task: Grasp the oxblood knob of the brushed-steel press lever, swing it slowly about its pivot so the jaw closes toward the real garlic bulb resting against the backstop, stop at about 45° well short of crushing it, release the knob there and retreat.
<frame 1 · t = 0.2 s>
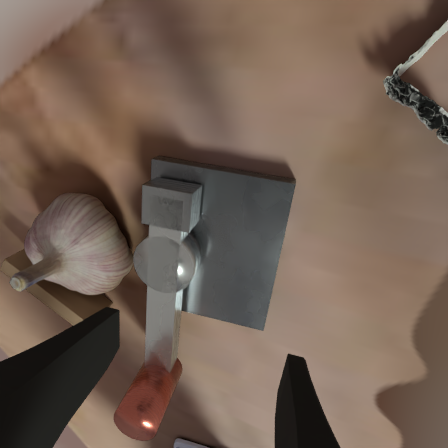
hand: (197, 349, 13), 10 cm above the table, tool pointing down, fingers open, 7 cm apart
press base: (181, 242, 23), on the table
garlic bulb: (101, 233, 25), on the table
lever: (156, 314, 20), point 4 cm above the table, hinge at 0.0°
backstop: (71, 277, 26), on the table
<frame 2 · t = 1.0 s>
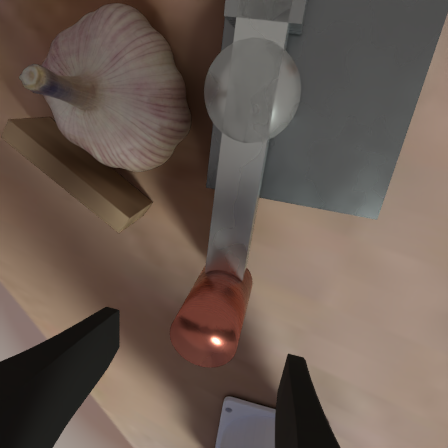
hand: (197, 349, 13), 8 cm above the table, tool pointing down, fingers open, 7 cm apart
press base: (260, 95, 16), on the table
garlic bulb: (142, 96, 18), on the table
lever: (236, 174, 14), point 4 cm above the table, hinge at 0.0°
backstop: (97, 167, 20), on the table
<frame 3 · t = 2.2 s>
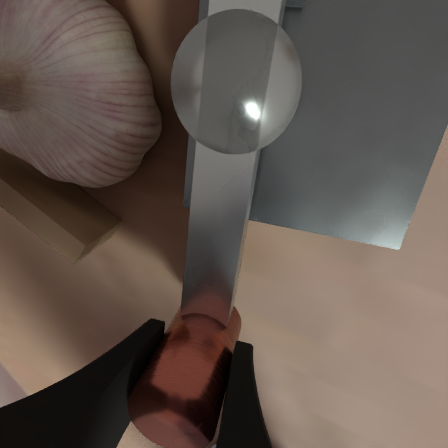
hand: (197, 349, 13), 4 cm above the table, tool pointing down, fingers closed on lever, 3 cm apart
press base: (249, 90, 13), on the table
garlic bulb: (104, 92, 14), on the table
lever: (215, 196, 10), point 4 cm above the table, hinge at 0.0°, touching gripper
backstop: (54, 179, 16), on the table
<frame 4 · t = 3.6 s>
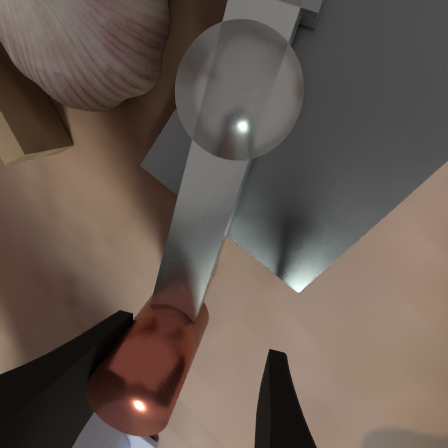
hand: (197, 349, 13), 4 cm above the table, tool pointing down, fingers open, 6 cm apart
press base: (251, 97, 13), on the table
garlic bulb: (116, 12, 13), on the table
lever: (202, 197, 10), point 4 cm above the table, hinge at 20.2°, touching gripper
backstop: (21, 66, 14), on the table
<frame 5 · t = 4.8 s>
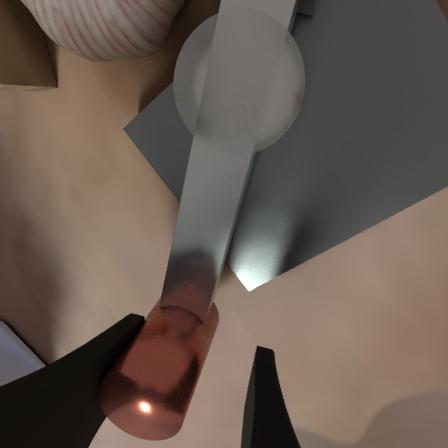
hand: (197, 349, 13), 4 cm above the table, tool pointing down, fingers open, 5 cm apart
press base: (252, 90, 13), on the table
lever: (206, 194, 10), point 4 cm above the table, hinge at 38.3°, touching gripper
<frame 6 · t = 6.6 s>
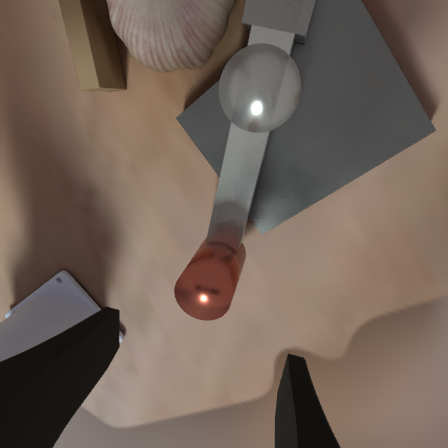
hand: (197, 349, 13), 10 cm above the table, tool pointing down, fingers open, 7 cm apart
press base: (265, 91, 19), on the table
garlic bulb: (187, 3, 18), on the table
lever: (241, 158, 16), point 4 cm above the table, hinge at 40.4°
backstop: (103, 18, 19), on the table
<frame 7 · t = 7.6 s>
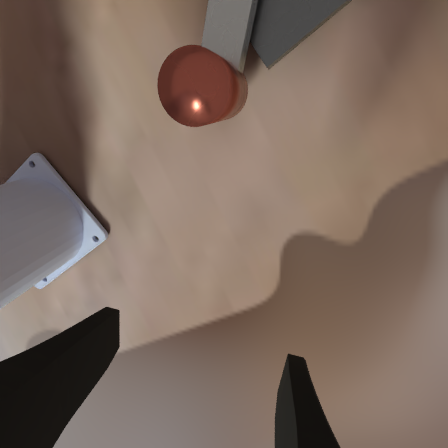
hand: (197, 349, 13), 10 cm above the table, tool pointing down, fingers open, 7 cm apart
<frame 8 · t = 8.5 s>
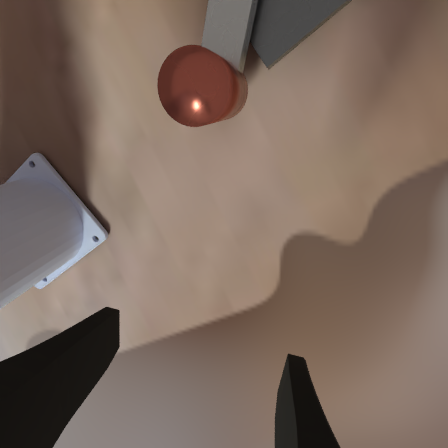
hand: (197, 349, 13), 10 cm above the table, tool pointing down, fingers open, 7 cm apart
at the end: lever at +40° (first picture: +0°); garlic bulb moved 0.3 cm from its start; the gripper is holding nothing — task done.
